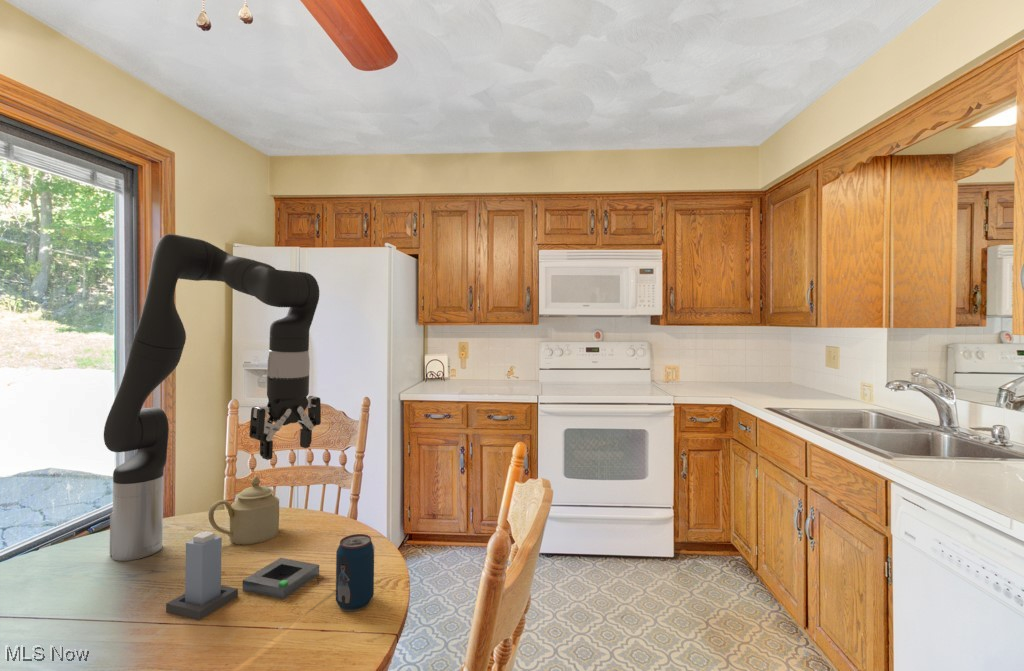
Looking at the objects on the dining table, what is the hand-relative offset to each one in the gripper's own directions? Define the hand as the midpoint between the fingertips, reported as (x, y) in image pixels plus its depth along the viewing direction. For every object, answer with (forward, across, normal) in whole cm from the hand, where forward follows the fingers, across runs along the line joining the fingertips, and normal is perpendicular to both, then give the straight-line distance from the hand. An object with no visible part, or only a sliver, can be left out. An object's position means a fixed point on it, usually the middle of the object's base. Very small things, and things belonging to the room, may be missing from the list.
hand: (286, 452), depth 95 cm
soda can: (+26, -2, +18) cm, 32 cm away
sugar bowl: (+31, -10, -26) cm, 42 cm away
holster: (+28, +13, -6) cm, 31 cm away
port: (+28, 0, 0) cm, 28 cm away
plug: (+27, +12, -6) cm, 30 cm away
